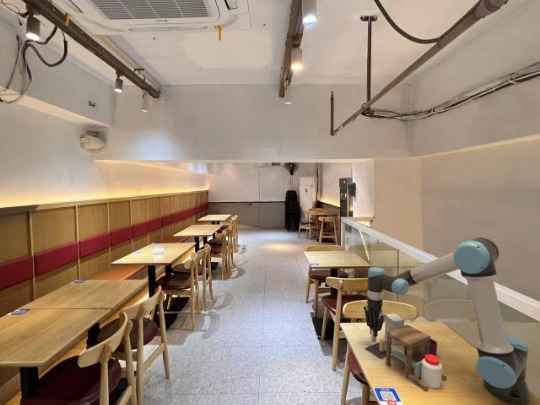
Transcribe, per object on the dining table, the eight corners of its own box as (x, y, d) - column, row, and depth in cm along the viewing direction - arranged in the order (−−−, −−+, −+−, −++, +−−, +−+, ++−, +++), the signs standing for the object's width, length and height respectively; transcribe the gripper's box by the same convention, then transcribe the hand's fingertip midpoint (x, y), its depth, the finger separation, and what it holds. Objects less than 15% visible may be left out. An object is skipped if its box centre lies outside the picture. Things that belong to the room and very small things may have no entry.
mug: (438, 359, 144) (439, 346, 144) (416, 357, 146) (417, 343, 146) (433, 351, 151) (434, 338, 150) (412, 349, 153) (413, 336, 152)
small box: (403, 343, 158) (405, 320, 156) (393, 345, 156) (394, 321, 155) (394, 335, 166) (395, 313, 164) (384, 336, 164) (385, 314, 163)
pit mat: (396, 352, 150) (396, 351, 150) (380, 359, 144) (380, 358, 144) (380, 342, 159) (380, 341, 159) (364, 348, 153) (364, 348, 153)
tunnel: (446, 379, 130) (448, 344, 128) (425, 391, 123) (427, 354, 121) (405, 355, 147) (407, 324, 146) (385, 364, 140) (387, 332, 139)
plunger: (428, 372, 134) (429, 358, 133) (416, 379, 130) (416, 365, 129) (388, 348, 153) (389, 336, 152) (376, 353, 148) (377, 341, 148)
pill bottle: (440, 390, 123) (442, 365, 122) (419, 383, 127) (421, 359, 126) (441, 380, 130) (443, 356, 129) (421, 373, 134) (423, 350, 133)
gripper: (390, 300, 149) (388, 345, 152) (370, 292, 161) (368, 333, 163) (380, 304, 146) (378, 349, 148) (360, 294, 157) (358, 337, 159)
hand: (373, 341), depth 155 cm, fingers closed
